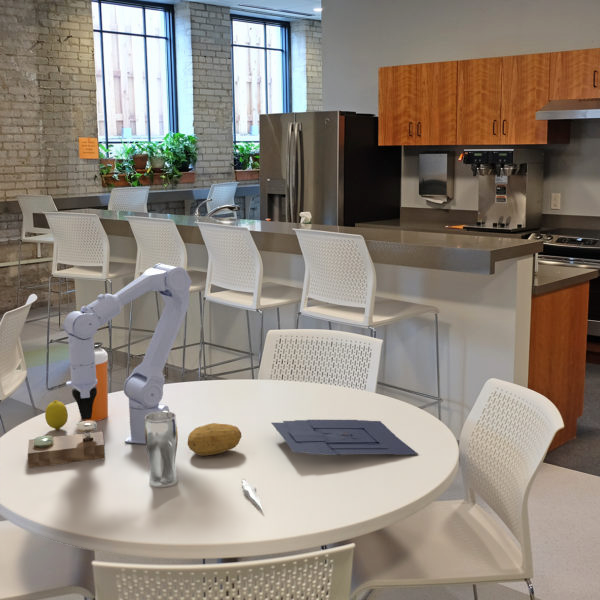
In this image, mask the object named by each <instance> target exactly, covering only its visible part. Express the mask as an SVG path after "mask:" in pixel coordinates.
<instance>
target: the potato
mask: <svg viewBox="0 0 600 600" xmlns="http://www.w3.org/2000/svg"><path fill="white" fill-rule="evenodd" d="M187 436H188V437H187V446H188V448H189V450H190V451H192V452H193V453H194V454H196V455H199V456H210V455H211V456H212V455H217V454H222V453H225V452H228V451H231V450H233V449H235V448H236V447H237V446H238V444H240V441H241V439H242V432H241V430H240V428H239V427H237V426H236V425H232V424H227V423H216V422H213V423H208V424H205V425H202V426H198V427H195V428H194V429H193V430H192V431H191V432H189V434H188V435H187Z"/></svg>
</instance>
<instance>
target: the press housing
mask: <svg viewBox="0 0 600 600" xmlns="http://www.w3.org/2000/svg"><path fill="white" fill-rule="evenodd" d="M52 437H53V439H54V444H53V445H52V446H50V447H47V448H36V447H34V439H35V438H33V439H28V446H27V461H28V462H27V463H28V468H29V469H31V468H39V467H40V468H41V467H47V466H55V465H56V466H57V465H64V464H72V463H80V462H89V461H90V462H91V461H97V460H105V459H106V453H105V443H104V440H105V439H104V435H103V431H96V432H95V431H93V432H90V437H91V441H88V442H86V441H85V433H80V434H79V433H78V434H68V435H60V436H59V435H58V436H52Z"/></svg>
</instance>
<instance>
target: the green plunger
mask: <svg viewBox="0 0 600 600" xmlns="http://www.w3.org/2000/svg"><path fill="white" fill-rule="evenodd" d="M53 437H54V436H52V435H40V436H38V437H35V438H33V439H34V447H36V448H47V447H50V446H52V445H53V444H54V439H53Z"/></svg>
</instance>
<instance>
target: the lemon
mask: <svg viewBox="0 0 600 600" xmlns="http://www.w3.org/2000/svg"><path fill="white" fill-rule="evenodd" d="M68 415H69V414H68V409H67V407H66V405H65V404H64V403H63V402H62V401H58V400H57V399H56V400H55V399H54V400H53V401H51V402H50V403H48V405H47V406H46V408H45V412H44V416H45V422H46V424H47V425H48V426H49V427H50V428H53V429H55V430H56V431H59V430H60V429H61V428H63V427H64V426H65V425H66V424H67V422H68Z"/></svg>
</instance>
